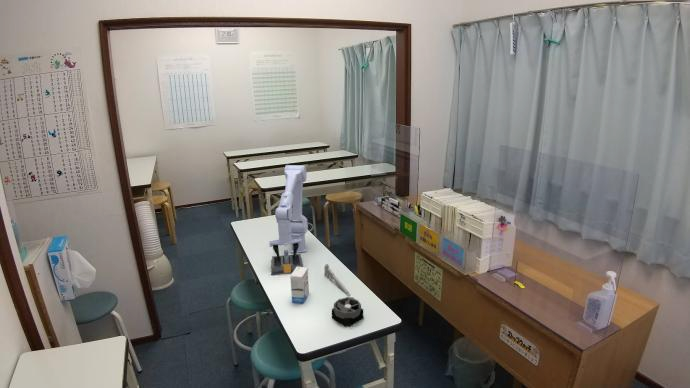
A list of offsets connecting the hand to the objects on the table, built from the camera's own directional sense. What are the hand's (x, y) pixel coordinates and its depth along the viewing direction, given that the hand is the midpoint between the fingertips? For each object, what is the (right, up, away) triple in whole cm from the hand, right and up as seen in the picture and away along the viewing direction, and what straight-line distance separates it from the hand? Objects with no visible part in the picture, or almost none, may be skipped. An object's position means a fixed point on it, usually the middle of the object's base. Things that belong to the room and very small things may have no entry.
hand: (286, 258), depth 185 cm
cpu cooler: (+28, -16, -38) cm, 50 cm away
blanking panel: (0, -3, +1) cm, 3 cm away
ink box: (+9, -12, -24) cm, 29 cm away
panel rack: (0, -4, +1) cm, 4 cm away
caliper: (+24, -9, -15) cm, 30 cm away
